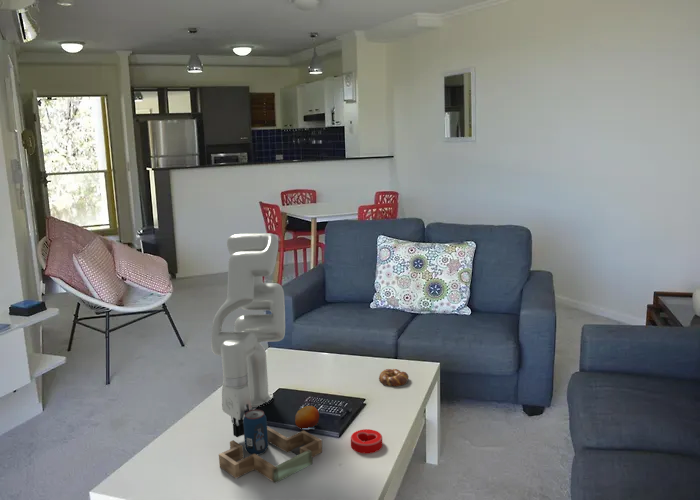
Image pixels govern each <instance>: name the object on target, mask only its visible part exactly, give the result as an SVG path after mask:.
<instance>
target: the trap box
mask: <svg viewBox="0 0 700 500" xmlns="http://www.w3.org/2000/svg"><path fill="white" fill-rule="evenodd" d="M267 434H268V443H270V444H272V445H274V446H275V447H276V448H279V449H280V450H282V451H284V452H286V453H288V454H289V453H290V452H291V453H292V454H294V455H295V456H294V457H292V458H290V459H287V460H285V461H284V462H281V463H280V464H277V465H273V464H272V463H270V462H269V461H267V460H265V459H264V458H262V457H261V456H259V455H256V454H252V455H251V454H249V456H246V457H244V446H243V444H242V445H241V444H240V443H239V442H237V441H235V440H231V441H229V448H230V449H228V450H226V451H223V452H221V453H219V454H218V460H219V461H218V462H219V468H221V469H222V470H223V471H225V472H227V474H229V475H230V476H232V477H234V478H235V479H238V478H239V477H242V476H244V475H246V474H247V473H249V472H253V471H254V470H255V471H256V472H257V473H259V474H261V475H262V476H264V477H265V478H267V479H268V480H270V481H271V482H273V483H275V484H276V483H278V482H280V481H281V480H283V479H285V478H287V477H289V476H292V475H294V474H295V473H297V472H299V471H301V470H303V469H305V468H306V467H309V466H311V465H312V464H313V457H315V456H317V455H318V454H322V452H323V442H322V439H321V438H319V437H317V436H315V435H314V434H311V433H309V432H308V431H306V430H301V431H299V432H297V433H295V434H292V435H290V436H289V437H287V436H285V435H283V434H281V433H280V432H278V431H276V430H274V429H273V428H271V427H270V426H267Z"/></svg>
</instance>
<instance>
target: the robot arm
mask: <svg viewBox="0 0 700 500" xmlns="http://www.w3.org/2000/svg"><path fill="white" fill-rule="evenodd" d="M277 237H278V236H276V234H273V233H271V232H269V233H268V232H262V233H261V232H257V233H253V232H252V233H249V232H248V233H236V234H232V235H230V236H228V238H227V239H226V247H227V250H228V252H229V254H230V256H229V258H228V265H227V266H228V269H227V291H226V293H227V295H226V299H225V301H224V303H223V304H221V306H220V307H219V309H217V311H216V313H215V315H214V316H213V319H212V324H211V336H210V337H211V338H210V346H211V351H212V353H213V354H214V355H215V356H219V357H221V365H222V366H221V367H222V380H223V382H222V385H221V386H222V387H221V388H222V389H221V406H222V407H221V408H222V412H224V413H225V414H226V415H229V416H230V420H231V423H232V430H233V431H232V433H233V436H234V437H236V438H239V437H241V436H244V424H243V419H244V417H245V413H246V412H248V411H250V410H253V409H252V408H257V407H258V406H259V407H261V406H260V405H262V404H263V403H265V402H268V401H269V400H271V399H272V398H273V399H274V394H273V393H272V392H271V391H269V381H268V380H269V379H268V377H269V376H268V363H267V352H266V349H265V347H264V346H263V345H262V343H263V342H264V343H265V342H267V343H268V342H269V343H270V342H281V341H282V340H283V339H284V338H285V334H286V309H285V308H286V307H285V290H284V288H283V286H282V285H281V284H280V283H275V282H264V281H263V279H264V278H263V277H269V276H271V275H272V274H273V273H274V270H275V265H276V262H277V261H276V260H277V257H278V251H279V240H278V238H277ZM238 309H242V310H244V311H269V312H271V313H270V314H269V313H267V314H264V313H262V314H261V313H260V314H259V313H253V314H243V315H240V316H238V317H237V318H236V320H235V321H234V325H233V326H234V328H233V329H234V331H222V330H223V324H224V321H225V319H226V318H227V317H228V316H229V315H230V314H231V313H233V312H235V311H236V310H238Z"/></svg>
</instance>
